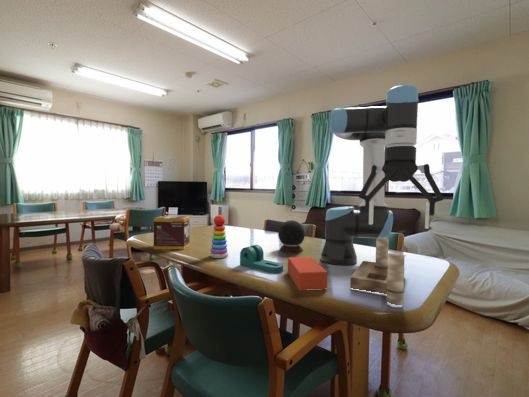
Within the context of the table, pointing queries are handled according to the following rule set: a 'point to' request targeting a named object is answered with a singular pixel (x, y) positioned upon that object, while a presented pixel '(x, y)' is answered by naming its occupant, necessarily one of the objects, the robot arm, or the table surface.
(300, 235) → the black ball on stand
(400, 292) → the beech leg
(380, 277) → the walnut board
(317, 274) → the brick
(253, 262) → the bracket
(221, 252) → the stacking toy
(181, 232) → the supplement box
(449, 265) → the table surface
